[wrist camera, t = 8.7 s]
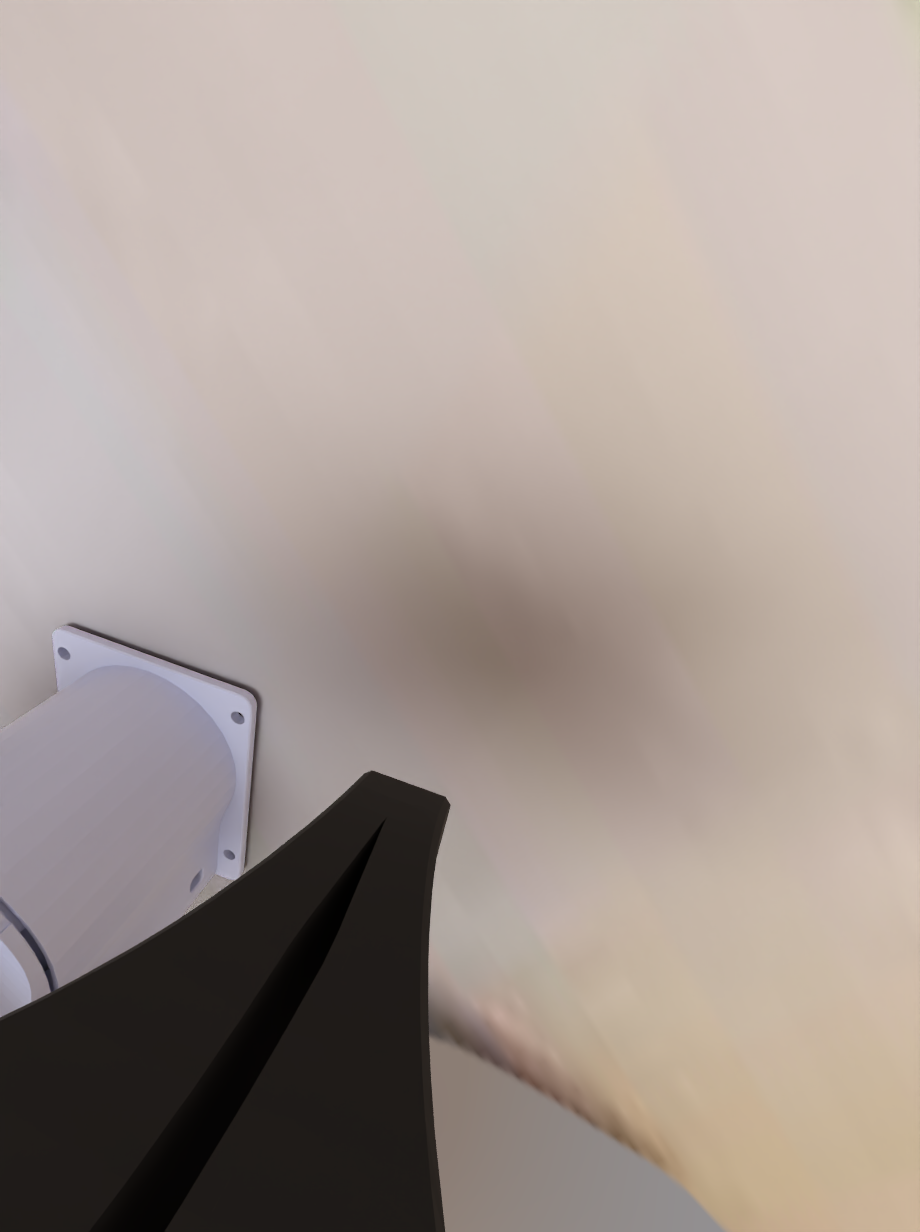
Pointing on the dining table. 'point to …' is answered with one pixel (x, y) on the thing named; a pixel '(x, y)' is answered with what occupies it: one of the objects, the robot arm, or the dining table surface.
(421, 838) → the robot arm
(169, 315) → the dining table surface
